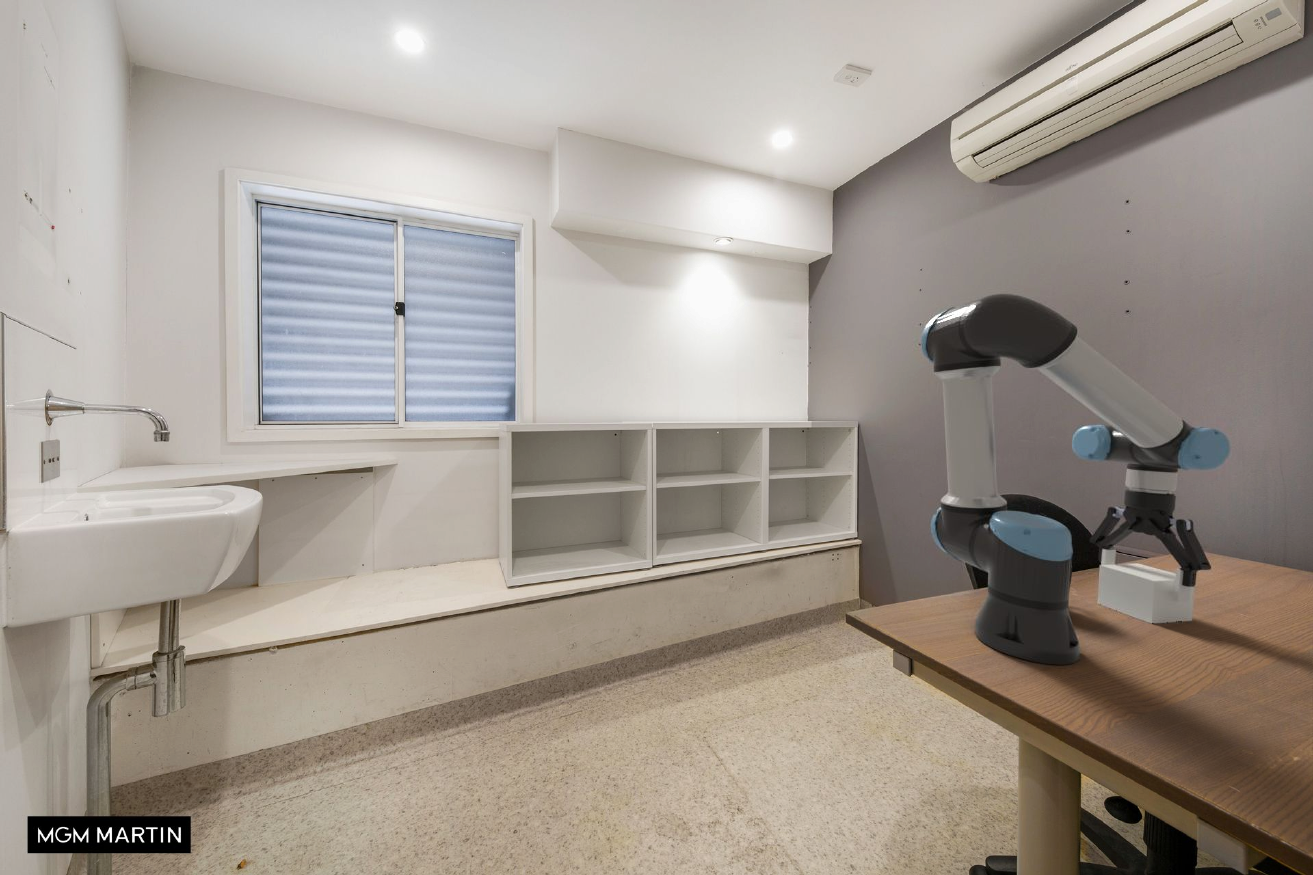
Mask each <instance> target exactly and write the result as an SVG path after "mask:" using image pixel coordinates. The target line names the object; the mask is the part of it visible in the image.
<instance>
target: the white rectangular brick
mask: <svg viewBox="0 0 1313 875" xmlns="http://www.w3.org/2000/svg"><path fill="white" fill-rule="evenodd" d="M1098 574H1099V575H1098V589H1097V590H1098V592H1097V604H1098V605H1100V604H1101V605H1100V606H1103V607H1105V606H1106V608H1108V609H1110V608H1111V610H1114V611H1116V610H1117V612H1119V613H1120V614H1121V613H1122V614H1125V615H1127V616H1130V617H1133V618H1136V619H1137V620H1140V621H1143V622H1146V623H1149V624H1151V625H1152V623H1154V624H1167V622H1168V623H1178V621H1182V622H1193V616H1194V614H1193V613H1194V599H1195V586H1196V585H1195V586H1194V587H1190V595H1189V601H1188V602H1177V601H1174V600H1173V598H1174V587H1175V576H1176V572H1171V571H1168V570H1163V569H1159V568H1157V567H1156V568H1155V567H1152V566H1149V565H1145V564H1141V563H1139V562H1136V563H1118V564H1117V563H1115V564H1113V565H1101V564H1099V573H1098ZM1176 621H1177V622H1176Z"/></svg>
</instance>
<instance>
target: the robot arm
mask: <svg viewBox="0 0 1313 875" xmlns="http://www.w3.org/2000/svg"><path fill="white" fill-rule="evenodd" d="M921 334H922V335H921V337H920V338H921V339H920V342H921V343H920V346H921V350H922V354H923V356H924V357H925V358H927V359H928V361H929V362H930V363H932V364H933V375H935V376H936V377H937V378H938V379H939V380H941V382H942V392H943V414H944V434H945V436H944V437H945V450H946V456H945V457H946V473H947V474H946V477H947V491H948V492H947V493H946V494H945V495H943V497H942V498H941V499H940V507H938V509H937V510H936V513H935V514H933V515H932V518H931V521H930V533H931V536H932V539H933V540H934V543H935V544H936V545H937V546H938V548H939V549H940V550H941V551H942V552H944V553H945V554H948V555H949V556H951V558H953V559H955V560H957V561H959V562H964V563H966V564H967V565H969V566H972V567H975V568H977V569H979V570H980V571H983V572H986V573H988V575H987V576H988V577H987V580H988V581H987V593H986V597H985V600H984V601H983V603H982V605H981V608H980V609H979V612H978V614H977V615H976V618H975V621H974V635H975V637H976V638H977V639H978V640H980V642H982V643H983V644H985V645H987V646H988V647H991V648H992V649H994V650H996V651H999V652H1001V653H1003V654H1007V655H1009V656H1012V657H1014V658H1018V659H1022V660H1025V661H1030V662H1035V663H1040V664H1048V665H1061V666H1062V665H1071V664H1074V663H1077V662H1078V661H1079V660H1080V652H1081V651H1080V648H1081V647H1080V642H1079V639H1078V637H1077V633H1076V630H1075V628H1074V625H1073V622H1072V619H1071V616H1070V613H1069V602H1070V590H1071V584H1070V577H1071V566H1072V564H1073V563H1072V562H1073V555H1074V552H1073V551H1074V549H1073V544H1072V534H1071V531H1070V530H1069V529H1068V527H1067V526H1066V525H1064V524H1063V523H1061V522H1059V521H1057V520H1055V519H1053V518H1050V517H1047V516H1042V515H1040V514H1033V513H1029V512H1025V511H1017V510H1008V505H1007V504H1008V502H1007V500H1006V499H1005V498H1004V497H1002V496H1001V495H1000V494H999V493H998V484H997V483H998V482H997V464H996V463H997V460H996V438H995V436H996V435H995V419H994V417H995V416H994V412H995V411H994V396H993V395H994V393H993V377H994V376H995V374H996V373H997V372H998V371H999V370H1000V369H1001V367H1002V364H1001V362H1002V361H1001V358H1005V359H1010V360H1013V361H1015V362H1017V363H1018V364H1020V365H1021V366H1022V367H1023V368H1025V369H1028V370H1038V372H1040V373H1042V374H1043V375H1044V376H1046V377H1047V378H1048V379H1049V380H1050V381H1052V382H1053V383H1054V384H1056V385H1058V386H1059V387H1060V388H1061V389H1062V390H1064V391H1065V392H1067V393H1068V394H1069V395H1071V396H1072V397H1073V398H1074V399H1075V400H1077V401H1078V402H1079V403H1081V404H1082V405H1083V406H1084V407H1086V408H1087V409H1088V410H1090V411H1091V412H1092V413H1094V414H1095V415H1096V416H1098V418H1100V419H1102V420H1103V421H1104V422H1105V423H1107V425H1105V424H1093V425H1091V424H1090V425H1084V426H1082V427H1080V428H1078V429H1077V430H1076V431H1075V432H1074V434H1073V436H1072V441H1071V447H1072V451H1073V453H1074V454H1075V455H1076V456H1077V457H1079V458H1080V459H1082V460H1085V461H1093V462H1109V463H1110V462H1111V463H1112V462H1113V463H1124V464H1127V465H1126V474H1125V484H1124V485H1125V486H1126V488H1127V489H1126V490H1124V500H1123V505H1124V506H1125V508H1124V509H1123V508H1122V507H1120V506H1110V507H1108V508H1107V512H1106V516H1105V517H1104V519H1103V520H1102V522H1101V523H1100V525H1098V527H1097V529H1096V530H1095V531H1094V532H1093V534H1092V535H1091V536H1090V538H1089V542H1090V543H1091V544H1094V545H1096V546H1098V562H1100V563H1101V564H1100V565H1113V564H1116V554H1117V551H1116V550H1117V549H1115V548H1114V546H1116V545H1118V544H1119V543H1120V542H1121V541H1123V540H1124V539H1125V538H1126V537H1128V536H1129V535H1131V534H1132V533H1138V534H1139V533H1140V534H1141V533H1143V534H1145V535H1146V536H1155V538H1156V539H1157V540H1159V541H1161V543H1162V544H1163V545H1164V547H1165V548H1166V549H1167V551H1168V553H1170V555H1171V556H1172V557H1173V559H1174V560H1175V561H1176V563H1178V565H1179V566H1180V568H1175V574H1176V576H1175V587H1174V598H1173V600H1174V601H1177V602H1188V601H1189V595H1190V587H1194V586H1196V584H1197V573H1198V572H1200V571H1211V569H1212V566H1211V564H1210V562H1209V559H1208V558H1207V555H1206V553H1205V551H1204V548H1203V546H1202V545H1201V544H1200V541H1199V539H1198V537H1197V535H1196V533H1195V528H1194V521H1193V520H1192V519H1189V518H1188V519H1187V518H1184V519H1182V518H1180V519H1179V518H1178V519H1176V518H1174V516H1173V513H1174V511H1175V509H1176V500H1177V499H1176V498H1177V495H1176V494H1175V493H1173V492H1175V491H1177V485H1178V474H1179V470H1184V471H1189V470H1195V471H1210V470H1215V469H1217V468H1219V467H1221V466H1222V465H1223V464H1224V463H1225V462H1226V460H1227V459H1228V458H1229V456H1230V454H1231V453H1230V452H1231V442H1230V440H1229V438H1228V436H1227V435H1226V434H1225V433H1224V432H1223V431H1221V430H1218V429H1216V428H1208V427H1207V428H1206V427H1204V426H1197V427H1194V426H1191V425H1190V424H1189V423H1188V422H1186V421H1185V420H1184V419H1182V418H1181V417H1180V416H1179V415H1177V414H1176V413H1175V412H1174V411H1173V410H1171V408H1169V407H1167V406H1166V405H1165V404H1164V403H1162V402H1161V401H1160V400H1158V399H1157V398H1156V397H1155V396H1153V394H1151V393H1149V391H1147V390H1146V389H1145V388H1143V387H1142V386H1141V385H1140V384H1138V383H1137V382H1136V381H1134V380H1133V379H1132V378H1131V377H1130V376H1129V375H1127V374H1125V373H1124V372H1123V371H1122V370H1120V369H1119V368H1118V367H1117V366H1116V365H1114V364H1113V363H1112V362H1111V361H1109V360H1108V359H1106V358H1105V356H1103V355H1101V354H1100V353H1099V352H1097V350H1095V349H1094V348H1093V347H1091V346H1090V345H1089V344H1087V342H1085V341H1084V340H1082V339H1081V338H1080V337H1079V334H1080V330H1079V328H1078V327H1077V326H1076V325H1075V324H1073V323H1072V321H1070V320H1068V319H1067V318H1065V317H1064V316H1063V315H1062V314H1061V313H1059V312H1057V311H1055V310H1053V309H1052V308H1050V307H1049V306H1046V305H1044V304H1042V303H1040V302H1038V301H1036V300H1034V299H1031V298H1028V297H1025V296H1023V295H1017V294H1012V293H997V294H996V293H995V294H991V295H987V296H985V297H981V298H979V299H977V300H973V301H970V302H967V303H963V304H960V305H956V306H952V307H950V308H948V309H946V310H944V311H942V312H940V313H938V314H936V315H934V316H933V318H932V319H930V321H929V322H928V323H927V324H926V325H925V327H924V329H923V331H922V333H921ZM1121 518H1124V520H1125V521H1124V522H1123V523H1121V524H1120V525H1119V527H1118V528H1117V529H1116V530H1114V529H1115V527H1116V526H1117V525H1118V523H1119V522H1120V520H1121ZM1172 526H1173V528H1174V529H1175V530H1176V532H1177V535H1178V537H1179V540H1180V541H1181V542H1180V541H1179V540H1178V538H1177V535H1176V533H1175V532H1174V531H1173V530H1172V529H1171V527H1172ZM1113 530H1114V531H1113ZM1112 531H1113V532H1112ZM1071 578H1072V577H1071ZM1194 588H1195V587H1194ZM1069 589H1070V590H1069Z"/></svg>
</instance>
